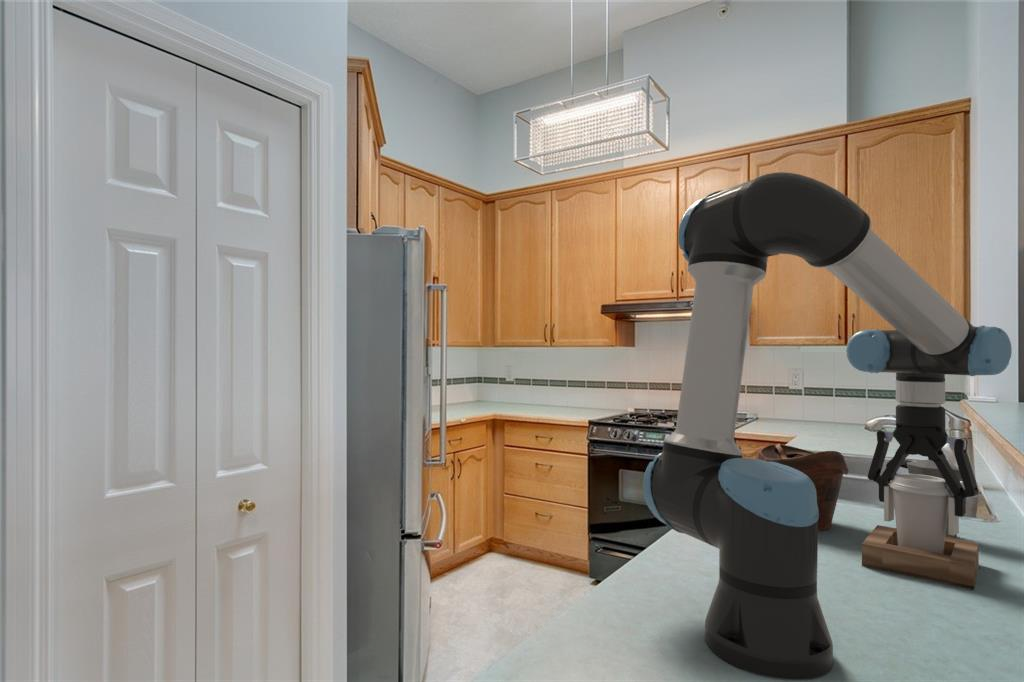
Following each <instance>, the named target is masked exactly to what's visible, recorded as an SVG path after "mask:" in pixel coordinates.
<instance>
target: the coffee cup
mask: <svg viewBox="0 0 1024 682" xmlns="http://www.w3.org/2000/svg"><path fill="white" fill-rule="evenodd" d="M889 485H890V487H891V488H893V497H894V519H895V525H896V526H895V527H896V528H897V539H898V546H901V547H907V548H912V549H917V550H922V551H928V552H933V553H938V554H943V553H944V543H945V533H946V524H947V515H948V497H950V495H952V494H953V493H952V492H951V490H950V488H949V486H948V485H947V483H946V481H945V480H944V479H942V478H939V477H934V476H928V475H920V474H909V473H897V474H896V475H895V476H894V479H893V480H892V481H890V483H889Z"/></svg>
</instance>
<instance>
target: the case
mask: <svg viewBox="0 0 1024 682" xmlns="http://www.w3.org/2000/svg"><path fill="white" fill-rule="evenodd" d="M755 459H760V460H763V461H767V462H776V463H779V464H783V465H786V466H789V467H792V468H794V469H796V470H799V471H801V472H802V473H804V474H805V475H807V476H808V477H809V478H810V479H811V480H812V482H813V483H814V485H815V489H816V495H817V506H818V509H819V510H818V511H819V518H818V532H819V531H826V530H829V529H830V528H831V526H832V523H833V519H834V516H835V511H836V507H837V503H838V499H839V494H840V492H841V491H840V490H841V486H842V481H843V475H848V474H849V471H850V470H849V468H848V466H847V463H846V461H845V457H844V455H843V454H842V453H841V452H840V451H836V450H825V451H819V452H813V451H810V450H807V449H802V448H798V447H795V446H791V445H786V444H782V443H779V442H778V443H776V444H769V445H765V446H764V447H763V448H760V450H759V451H758V452H757V453H756V455H755Z"/></svg>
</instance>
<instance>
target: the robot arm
mask: <svg viewBox="0 0 1024 682" xmlns="http://www.w3.org/2000/svg"><path fill="white" fill-rule="evenodd" d="M677 234H678V235H677V239H678V240H677V242H678V246H679V249H680V250H682V256H683V257H684V259H685V260H686V261H687V262H688V264H687V272H688V273H689V274H690V275H691V277H692V279H694V281H695V285H694V287H695V288H694V294H693V301H692V308H691V313H690V314H691V316H690V322H689V330H688V336H687V345H686V351H685V359H684V366H683V373H682V381H681V387H680V388H681V389H680V394H679V396H680V397H679V402H678V403H679V404H678V409H677V415H676V416H677V418H676V424H675V429H674V431H673V432H672V433H670V434H669V435H668V436H666V437H665V438H663V439H664V440H663V445H662V452H660V453H658V454H657V455H655V456H654V457H653V460H652V461H650V462H649V463H648V465H647V466H646V469H645V472H644V475H643V484H642V486H643V489H642V490H643V496H644V499H645V502H646V503H645V504H646V505H647V507H648V509H649V510H650V512H651V513H652V514H653V516H654V517H655V518H656V519H657V520H658V521H660V522H661V523H663V524H665V525H666V526H667V527H668V528H670V529H671V530H674V531H676V532H677V533H681V534H685V535H686V536H689V537H691V538H694V539H697V540H699V541H700V542H703V543H705V544H708V545H710V546H712V547H714V548H717V549H719V551H718V552H719V553H718V555H719V556H718V558H719V561H718V563H719V571H718V572H719V573H718V575H719V577H718V578H719V579H718V582H717V586H716V588H715V592H714V594H713V597H712V600H711V603H710V605H709V608H708V611H707V613H706V616H705V620H704V621H705V622H704V640H705V642H706V644H707V647H708V648H709V649H710V650H711V651H712V653H714V654H715V655H716V656H718V657H719V658H720V659H722V660H724V661H726V662H727V663H729V664H731V665H733V666H735V667H737V668H740V669H742V670H744V671H748V672H751V673H754V674H757V675H761V676H767V677H771V678H777V679H782V680H783V679H784V680H785V679H786V680H807V679H808V680H809V679H814V678H817V677H820V676H821V677H822V676H823V675H826V674H827V673H828V672H830V670H831V669H832V667H833V665H834V645H833V640H832V637H831V634H830V630H829V628H828V625H827V622H826V618H825V616H824V614H823V610H822V606H821V604H820V601H819V598H818V548H819V545H818V544H819V541H818V540H819V537H818V536H819V531H818V518H819V511H818V510H819V509H818V506H817V495H816V489H815V485H814V483H813V482H812V480H811V479H810V478H809V477H808V476H807V475H805V474H804V473H802V472H801V471H799V470H796V469H794V468H792V467H789V466H786V465H783V464H779V463H776V462H767V461H763V460H760V459H756V458H751V457H748V458H747V457H744V456H743V455H744V454H743V453H744V452H743V451H742V449H740V447H739V446H738V445H737V444H736V441H735V432H736V427H737V426H736V425H737V417H738V411H739V410H738V408H739V400H740V396H741V395H740V393H741V386H742V381H743V380H742V378H743V371H744V362H745V354H746V346H747V340H748V331H749V322H750V318H751V317H750V315H751V311H752V310H751V308H752V301H753V300H752V299H753V293H754V287H755V286H756V285H757V284H758V283H760V282H761V281H762V280H763V279H765V278H766V275H767V267H768V261H769V260H768V259H769V257H773V256H777V255H782V254H783V255H792V256H796V257H799V258H801V259H803V260H804V261H805V262H807V264H809V265H810V266H811V267H814V268H817V269H826V270H827V271H828V272H829V273H831V274H832V275H833V276H834V277H835V278H837V279H838V280H839V281H840V282H841V283H842V284H843V285H845V286H846V287H847V288H848V289H849V290H850V291H852V292H853V293H854V295H856V296H857V297H858V298H859V299H861V300H862V301H863V302H864V303H865V304H866V305H868V306H869V307H870V308H871V309H872V310H874V312H876V313H877V314H878V316H880V317H882V318H883V319H884V320H885V321H886V322H887V323H888V324H889V325H891V326H892V327H893V328H894V329H887V330H885V329H883V330H881V329H877V328H876V329H872V328H871V329H864V330H860V331H857V332H855V333H854V334H853V335H852V336H851V337H850V338H849V339H848V342H847V344H846V357H847V360H848V362H849V363H850V365H851V366H852V367H853V368H855V369H856V370H858V371H860V372H863V373H864V372H866V373H870V374H873V373H875V374H879V373H892V374H893V373H895V401H896V402H897V403H899V404H897V405H896V406H895V428H894V430H893V431H891V430H890V431H889V430H886V429H883V430H877V432H876V442H877V443H876V446H875V450H874V454H873V456H872V459H871V462H870V467H869V469H868V473H867V479H868V480H869V481H872V482H874V483H877V485H878V501H879V502H881V503H883V521H884V522H891V521H892V522H893V521H894V520H895V507H894V497H893V488H891V487H890V482H891V480H892V478H893V477H894V475H895V474H896V473H897V472H898V471H899V470H900V468H901V467H900V466H901V465H902V463H903V462H904V460H905V459H907V457H908V456H909V455H910V456H911V455H912V456H916V455H919V456H922V457H925V458H926V457H927V458H928V457H929V456H930V458H931V459H932V461H933V462H934V463H935V464H936V466H937V468H938V469H939V471H940V473H941V474H942V476H943V478H944V480H945V481H946V483H947V485H948V486H949V488H950V490H951V492H952V493H953V496H951V497H948V518H949V535H953V536H954V535H956V534H957V535H959V533H960V518H962V517H964V516H965V515H966V508H967V507H966V503H967V502H966V499H967V498H971V497H972V498H973V497H974V496H977V495H979V494H980V490H979V487H978V484H977V480H976V477H975V474H974V470H973V468H972V465H971V460H970V458H969V454H968V451H967V450H968V445H969V443H968V442H969V441H968V439H967V438H965V437H960V438H958V437H954V436H953V437H952V436H949V434H948V433H947V431H946V408H945V407H944V406H942V405H944V404H946V375H948V376H949V375H950V376H951V375H952V376H953V375H954V376H970V377H975V376H996V375H999V374H1001V373H1003V372H1004V371H1005V370H1006V369H1007V367H1008V366H1009V364H1010V360H1011V358H1012V352H1013V351H1012V348H1013V347H1012V342H1011V339H1010V337H1009V335H1008V333H1006V331H1005V330H1003V329H1002V328H1001V327H996V326H986V325H980V326H974V325H973V324H972V323H971V322H970V321H968V320H967V319H966V318H965V317H964V315H962V313H960V312H959V311H958V310H957V309H956V308H955V307H953V305H952V304H951V303H950V302H949V301H947V300H946V299H945V298H944V297H943V296H942V295H940V292H938V291H937V290H935V288H933V287H932V286H931V284H930V283H928V282H927V281H926V280H925V279H924V278H923V277H922V276H921V275H920V274H919V273H918V272H916V270H915V269H913V267H912V266H910V265H909V264H908V263H907V262H906V261H905V260H904V259H903V258H902V257H901V256H899V255H898V253H896V251H894V250H893V249H892V247H890V246H889V244H887V243H886V242H885V241H884V240H883V239H882V238H881V237H879V236H878V235H877V234H876V233H875V232H874V231H873V230H872V220H871V217H870V215H868V213H866V212H865V211H864V209H862V207H861V206H859V205H858V204H857V203H856V202H855V201H853V200H852V199H851V198H849V197H848V196H847V195H846V194H844V193H843V192H841V191H839V190H838V189H835V188H834V187H833V186H830V185H828V184H827V183H825V182H821V181H819V180H817V179H815V178H812V177H809V176H807V175H804V174H803V175H802V174H800V173H794V172H785V171H784V172H783V171H782V172H781V171H780V172H779V171H778V172H771V173H766V174H762V175H760V176H757V177H756V178H754V179H750V180H748V181H746V182H743V183H740V184H737V185H735V186H731V187H729V188H727V189H724V190H723V189H721V190H718V191H714V192H710V193H709V194H707V195H705V196H704V197H703V198H701V199H698V200H696V201H695V202H694V203H693V204H692V205H690V206H689V208H687V210H686V211H685V212H684V214H683V216H682V218H681V220H680V223H679V227H678V233H677ZM893 438H894V439H895V440H896V442H897V443H898V444H899V446H898V447H897V450H896V451H895V453H894V455H893V457H892V458H891V459H892V460H891V459H890V460H891V461H890V460H889V461H890V463H889V464H888V466H887V468H886V467H885V469H884V471H883V472H882V470H883V466H884V464H885V459H886V457H887V453H888V450H889V447H890V442H892V441H893ZM946 444H948V445H949V447H950V449H951V450H953V453H954V458H955V461H956V463H957V468H959V471H960V474H961V478H962V480H961V481H962V483H963V485H962V483H961V481H959V480H958V478H957V476H956V475H955V473H954V471H953V470H952V468H951V466H950V465H951V464H950V463H949V461H948V460H947V455H946V454H945V453H944V451H943V447H945V446H946Z"/></svg>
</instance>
